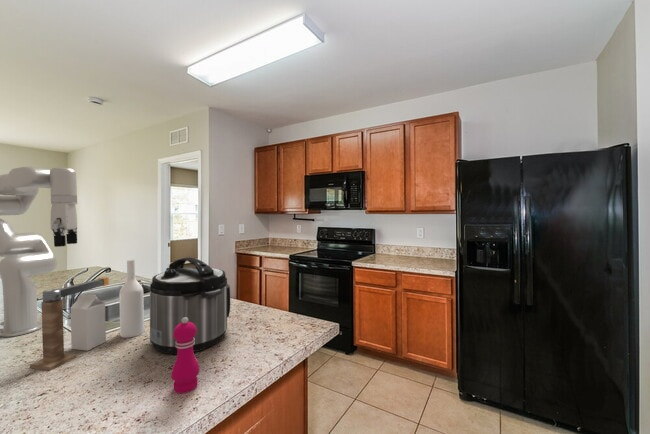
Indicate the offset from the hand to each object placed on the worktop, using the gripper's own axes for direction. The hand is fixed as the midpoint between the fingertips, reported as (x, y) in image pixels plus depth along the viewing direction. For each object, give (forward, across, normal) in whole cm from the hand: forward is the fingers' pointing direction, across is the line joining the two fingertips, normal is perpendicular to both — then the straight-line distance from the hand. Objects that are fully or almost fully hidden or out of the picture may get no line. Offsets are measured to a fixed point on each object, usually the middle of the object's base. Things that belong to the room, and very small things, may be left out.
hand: (66, 245), depth 113 cm
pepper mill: (+38, +49, +44) cm, 77 cm away
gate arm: (+16, +13, +8) cm, 22 cm away
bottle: (+37, +2, +21) cm, 43 cm away
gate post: (+37, +20, +3) cm, 42 cm away
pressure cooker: (+38, +16, +44) cm, 61 cm away
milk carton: (+37, +9, +9) cm, 39 cm away
